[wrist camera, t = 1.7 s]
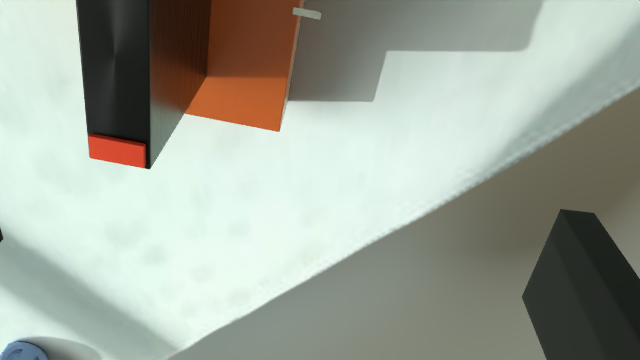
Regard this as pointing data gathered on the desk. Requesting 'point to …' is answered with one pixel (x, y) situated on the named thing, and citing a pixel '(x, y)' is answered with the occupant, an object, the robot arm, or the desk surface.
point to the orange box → (250, 61)
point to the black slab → (139, 72)
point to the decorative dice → (22, 352)
